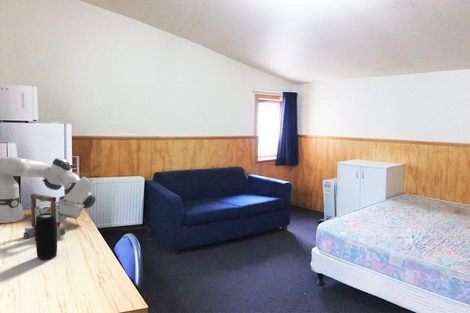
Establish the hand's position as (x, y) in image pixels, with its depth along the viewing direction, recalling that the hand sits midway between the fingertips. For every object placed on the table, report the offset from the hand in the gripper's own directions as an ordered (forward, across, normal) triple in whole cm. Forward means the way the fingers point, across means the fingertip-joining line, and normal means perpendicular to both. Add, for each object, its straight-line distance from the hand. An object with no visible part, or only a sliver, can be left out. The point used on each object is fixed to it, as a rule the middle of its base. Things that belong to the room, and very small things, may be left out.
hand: (58, 222), depth 198 cm
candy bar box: (+9, 0, 0) cm, 9 cm away
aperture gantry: (+10, 0, +2) cm, 10 cm away
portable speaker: (+22, -27, +14) cm, 38 cm away
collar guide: (+9, 0, +1) cm, 10 cm away
